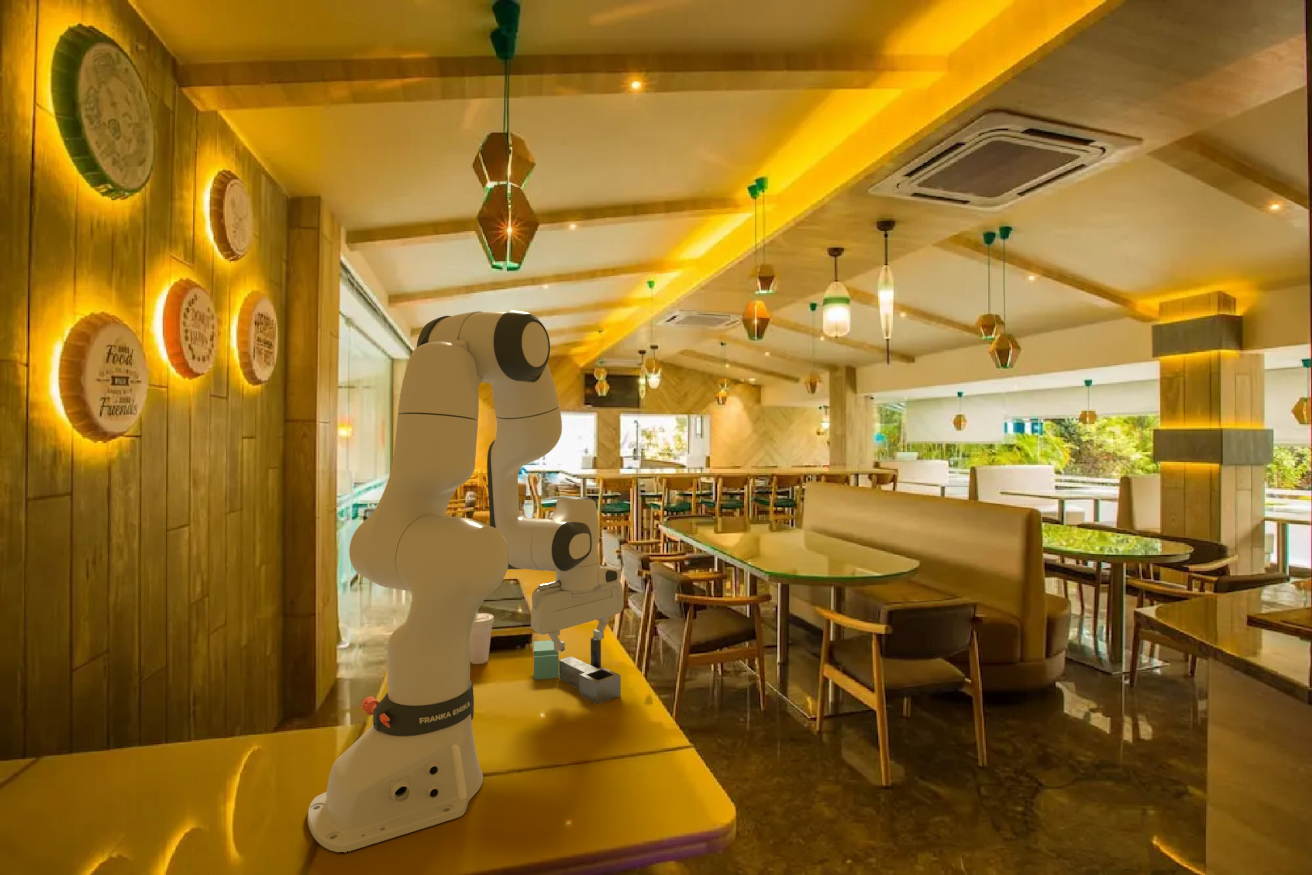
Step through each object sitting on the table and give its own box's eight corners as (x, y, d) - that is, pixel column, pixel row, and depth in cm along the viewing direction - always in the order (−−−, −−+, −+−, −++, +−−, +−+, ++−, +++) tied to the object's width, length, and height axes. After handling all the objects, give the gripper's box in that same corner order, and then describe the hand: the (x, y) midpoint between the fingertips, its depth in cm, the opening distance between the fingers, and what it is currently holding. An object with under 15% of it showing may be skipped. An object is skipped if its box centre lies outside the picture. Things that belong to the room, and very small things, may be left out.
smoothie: (464, 657, 141) (463, 595, 141) (493, 654, 143) (493, 592, 142) (464, 668, 135) (463, 602, 134) (495, 664, 137) (494, 600, 136)
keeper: (557, 664, 136) (557, 639, 136) (558, 677, 129) (558, 651, 129) (533, 666, 135) (533, 641, 135) (534, 679, 128) (533, 653, 128)
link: (620, 695, 120) (620, 675, 120) (597, 704, 117) (596, 683, 116) (576, 673, 131) (576, 654, 131) (553, 681, 127) (553, 661, 127)
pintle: (594, 669, 133) (594, 641, 133) (588, 666, 135) (588, 638, 135) (603, 667, 135) (602, 639, 135) (597, 664, 136) (596, 636, 136)
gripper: (540, 589, 116) (542, 663, 117) (627, 570, 130) (628, 636, 130) (523, 583, 121) (525, 654, 122) (608, 564, 135) (610, 628, 135)
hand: (579, 644), depth 126 cm, fingers open, 8 cm apart
